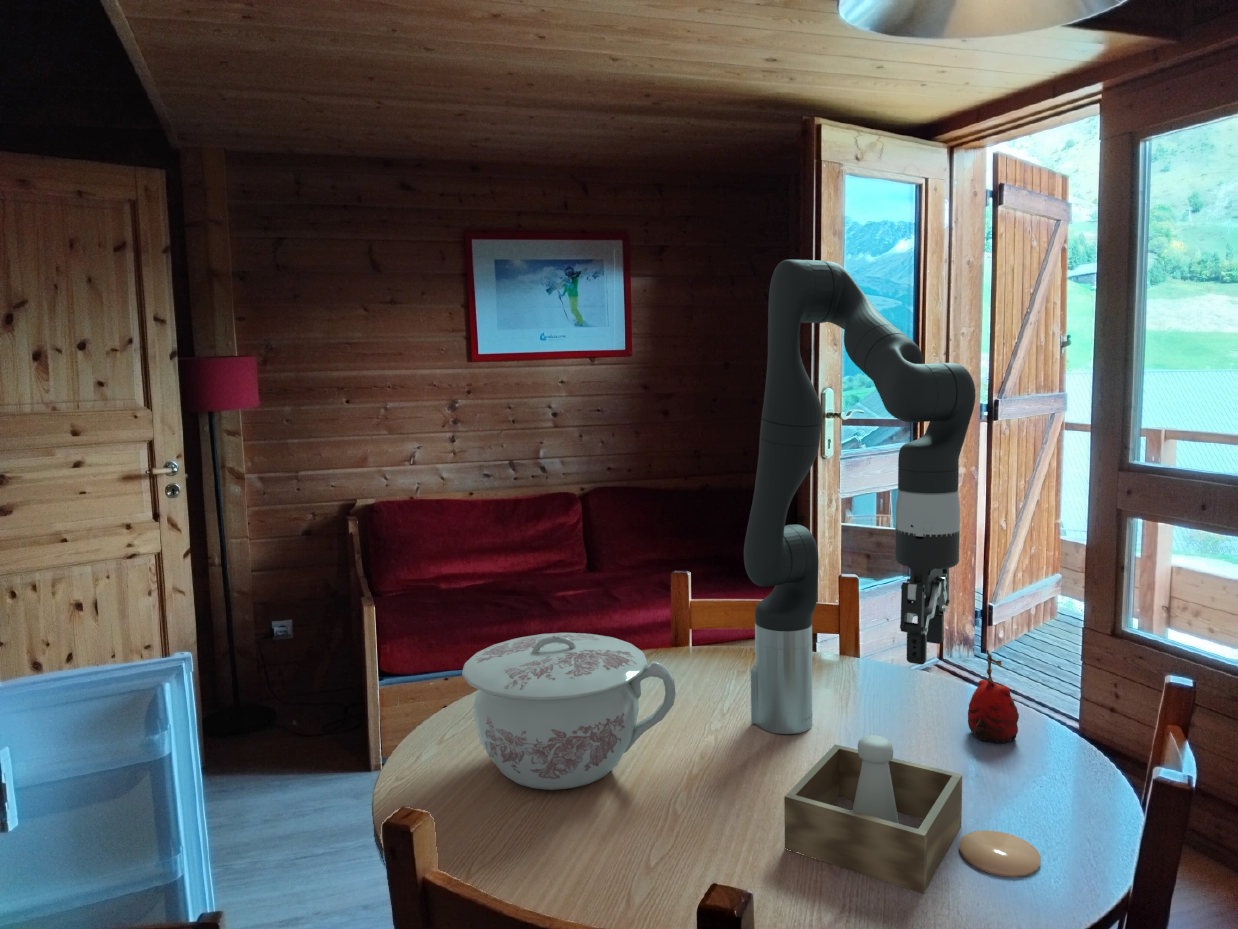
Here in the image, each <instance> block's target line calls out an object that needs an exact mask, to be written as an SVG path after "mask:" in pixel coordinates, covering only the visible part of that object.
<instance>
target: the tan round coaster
mask: <svg viewBox="0 0 1238 929" xmlns="http://www.w3.org/2000/svg"><path fill="white" fill-rule="evenodd" d="M959 852H960V855H961V856H962V858H963V859H964V860H965V861H966V862H967V863H969V864H970V865H971V866H973V867H975V868H976V869H978V870H981V871H983V872H986V873H989V874H992V875H995V876H1000V877H1008V878H1009V877H1010V878H1019V877H1025V876H1030V875H1032V874H1034V873H1036V872H1038V870H1039V869H1040V867H1041V855H1040V852H1039V850H1038V849H1037V848H1036V847H1035V846H1034V845H1033V844H1032V843H1030V842H1028V841H1027V840H1025V839H1023V838H1022V837H1019V836H1016V835H1014V834H1010V833H1007V832H1004V831H997V830H977V831H972V832H969V833H966V834H965V835H963V836H962V838H960V841H959Z"/></svg>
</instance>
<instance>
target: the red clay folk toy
mask: <svg viewBox="0 0 1238 929" xmlns="http://www.w3.org/2000/svg"><path fill="white" fill-rule="evenodd" d="M986 654H987V656H986V659H987V667H988V668H987V669H986V673H985V674H987V675H988V678H987V680H986V679H981V680H979V681H978V683H977V684H978V685H977V687H976V688H975V690H974V692H973V693H972V695H971V698H970V701H969V703H968V710H967V725H968V728H969V730H970V731H971V733H972V735H974V736H975V737H976V738H977V739H979V740H981V741H984V742H989V743H995V744H996V743H1000V744H1003V743H1010V742H1011V741H1014V740H1015V739H1016V738H1017V735H1018V732H1019V726H1018V722H1019V719H1020V714H1019V712H1018V708H1017V706H1016V704H1015V702H1014V700H1013V698H1012V695H1011V690H1010V689H1009V687H1008V686H1007V685H1001V684H998V683H995V682H994V681H993V678H992V672H993V671H992V670H993V669H992V663H995V664H996V665H997V666H998V667H1002V661H1001V660H996V659H994V658H993V656H992V654H991V653H990V651H989V649H986Z"/></svg>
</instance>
